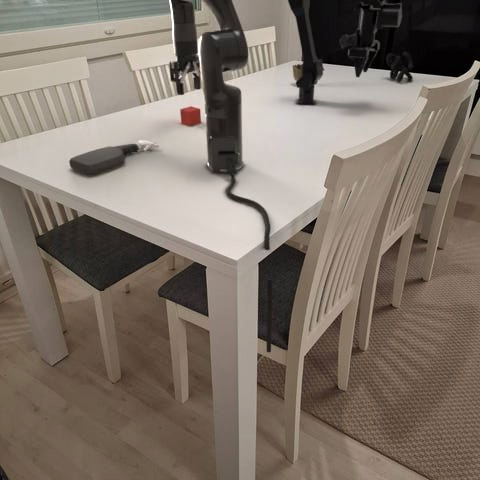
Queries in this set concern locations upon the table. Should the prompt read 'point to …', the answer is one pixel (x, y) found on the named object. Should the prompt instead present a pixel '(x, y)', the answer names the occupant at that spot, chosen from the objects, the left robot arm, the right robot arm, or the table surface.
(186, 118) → the block
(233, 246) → the table surface
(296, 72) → the cup
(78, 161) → the spray bottle
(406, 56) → the squiggle
